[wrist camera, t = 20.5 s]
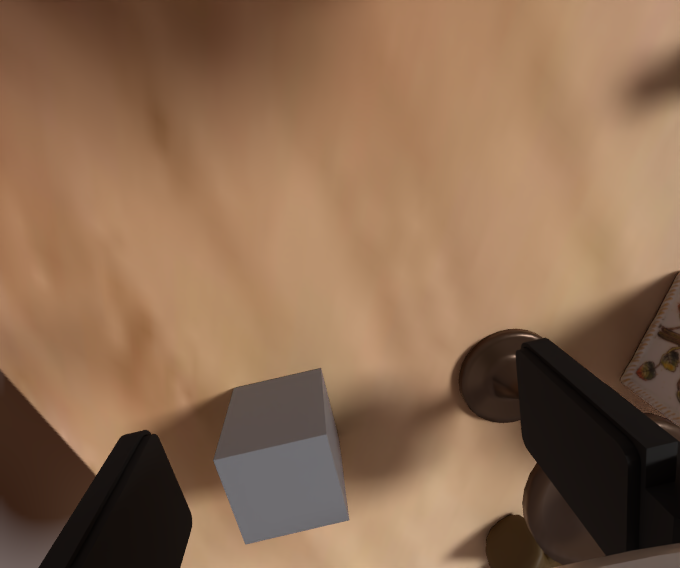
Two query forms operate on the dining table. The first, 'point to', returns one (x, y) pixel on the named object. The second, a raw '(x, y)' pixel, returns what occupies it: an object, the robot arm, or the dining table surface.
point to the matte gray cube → (282, 457)
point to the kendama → (515, 546)
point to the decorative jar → (659, 359)
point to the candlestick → (539, 493)
